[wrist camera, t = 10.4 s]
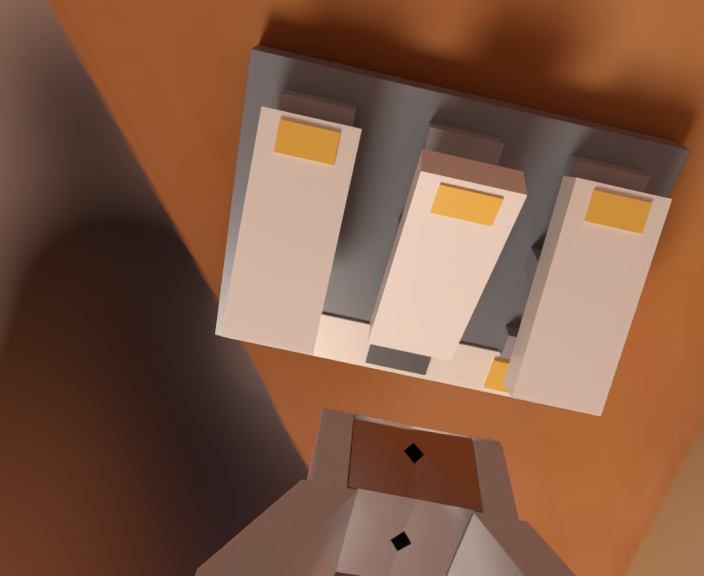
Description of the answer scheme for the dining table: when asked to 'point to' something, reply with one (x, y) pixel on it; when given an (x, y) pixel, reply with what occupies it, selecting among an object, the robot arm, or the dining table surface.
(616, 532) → the dining table surface
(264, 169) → the block
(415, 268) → the rocker
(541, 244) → the switch unit
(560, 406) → the block
